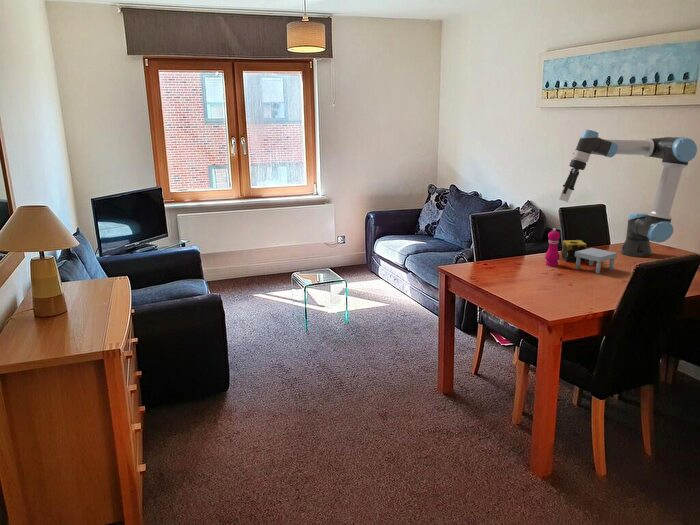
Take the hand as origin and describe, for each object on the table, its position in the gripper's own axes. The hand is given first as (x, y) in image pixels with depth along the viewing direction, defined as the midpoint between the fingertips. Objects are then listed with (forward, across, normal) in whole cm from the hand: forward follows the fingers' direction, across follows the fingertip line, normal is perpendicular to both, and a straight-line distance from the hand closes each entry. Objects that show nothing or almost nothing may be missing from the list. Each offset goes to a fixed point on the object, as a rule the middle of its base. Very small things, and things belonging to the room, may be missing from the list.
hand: (563, 200), depth 266 cm
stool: (+28, -3, +26) cm, 38 cm away
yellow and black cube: (+29, -18, +14) cm, 37 cm away
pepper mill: (+34, -3, +6) cm, 34 cm away
